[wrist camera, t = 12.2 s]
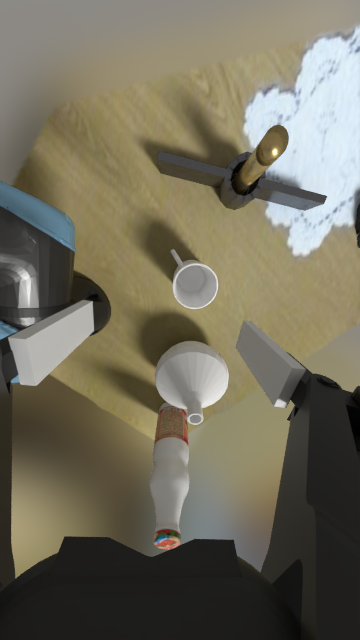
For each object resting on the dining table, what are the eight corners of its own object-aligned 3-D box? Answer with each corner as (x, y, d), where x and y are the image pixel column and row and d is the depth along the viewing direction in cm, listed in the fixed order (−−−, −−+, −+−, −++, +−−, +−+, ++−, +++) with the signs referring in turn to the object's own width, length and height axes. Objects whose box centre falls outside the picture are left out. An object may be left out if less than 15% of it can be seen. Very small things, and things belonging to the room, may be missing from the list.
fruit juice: (173, 394, 54) (166, 526, 28) (192, 410, 56) (203, 544, 30) (153, 409, 56) (130, 543, 30) (172, 423, 59) (166, 559, 32)
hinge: (158, 190, 34) (154, 180, 29) (164, 146, 31) (161, 127, 27) (298, 225, 36) (315, 221, 32) (314, 187, 34) (335, 176, 29)
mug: (159, 258, 39) (151, 259, 27) (192, 238, 37) (197, 231, 26) (183, 301, 42) (185, 318, 31) (214, 285, 41) (227, 296, 30)
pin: (226, 195, 34) (259, 154, 20) (231, 178, 33) (268, 121, 19) (240, 199, 34) (282, 161, 20) (245, 182, 33) (292, 129, 19)
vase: (152, 335, 46) (135, 386, 28) (218, 326, 45) (244, 373, 27) (164, 387, 53) (157, 454, 35) (222, 380, 52) (245, 446, 34)
